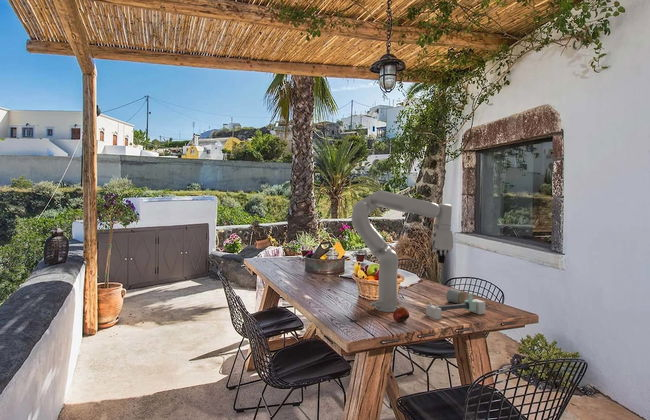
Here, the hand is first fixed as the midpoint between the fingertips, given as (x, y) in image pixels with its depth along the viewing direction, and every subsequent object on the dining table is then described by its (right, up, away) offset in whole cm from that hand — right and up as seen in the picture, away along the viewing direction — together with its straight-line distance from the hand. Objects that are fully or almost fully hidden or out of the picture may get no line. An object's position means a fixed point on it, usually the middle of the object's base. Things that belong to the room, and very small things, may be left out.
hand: (441, 262), depth 203 cm
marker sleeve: (+13, -23, -4) cm, 27 cm away
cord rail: (+6, -25, -7) cm, 27 cm away
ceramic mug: (+14, -25, +17) cm, 33 cm away
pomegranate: (-25, -25, -22) cm, 42 cm away
